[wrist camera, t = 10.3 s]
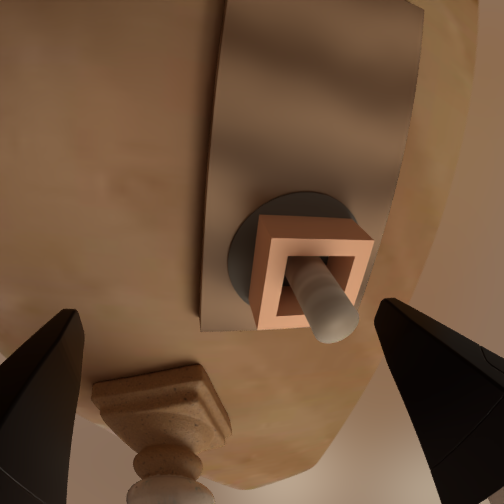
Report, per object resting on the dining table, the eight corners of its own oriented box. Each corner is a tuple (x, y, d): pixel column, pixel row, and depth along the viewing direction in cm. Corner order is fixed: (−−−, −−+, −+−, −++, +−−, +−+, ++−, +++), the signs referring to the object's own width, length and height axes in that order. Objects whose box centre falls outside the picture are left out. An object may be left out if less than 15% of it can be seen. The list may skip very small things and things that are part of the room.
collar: (259, 214, 18) (271, 238, 16) (351, 218, 20) (374, 240, 17) (248, 299, 21) (257, 329, 19) (330, 296, 23) (347, 323, 20)
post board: (231, -39, 12) (261, -106, 5) (410, 11, 15) (499, 3, 8) (199, 318, 24) (209, 407, 17) (345, 312, 26) (389, 383, 19)
